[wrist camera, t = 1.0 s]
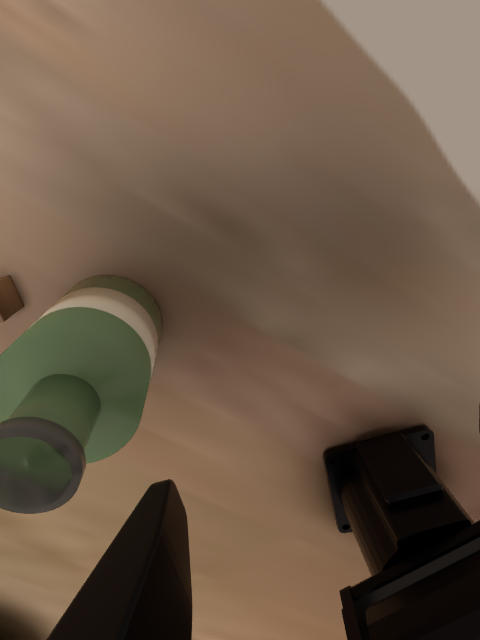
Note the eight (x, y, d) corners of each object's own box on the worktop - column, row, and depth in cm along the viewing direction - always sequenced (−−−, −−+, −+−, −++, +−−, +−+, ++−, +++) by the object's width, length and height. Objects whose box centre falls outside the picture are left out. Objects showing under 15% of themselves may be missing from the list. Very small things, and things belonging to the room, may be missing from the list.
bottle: (174, 353, 20) (152, 518, 10) (82, 377, 20) (-23, 564, 10) (143, 263, 18) (82, 363, 9) (42, 289, 18) (-130, 419, 9)
